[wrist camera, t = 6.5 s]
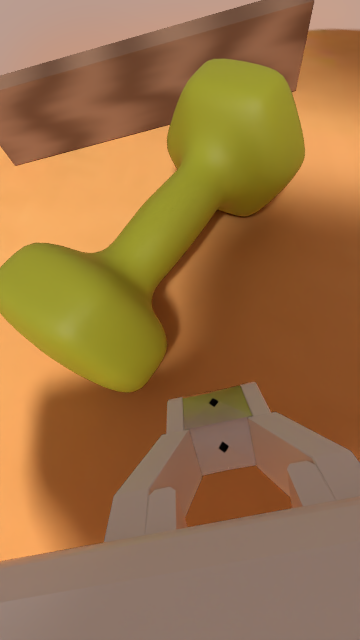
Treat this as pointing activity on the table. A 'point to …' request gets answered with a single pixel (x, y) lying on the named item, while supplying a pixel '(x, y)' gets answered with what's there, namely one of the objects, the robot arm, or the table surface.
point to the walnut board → (140, 78)
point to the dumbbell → (158, 228)
